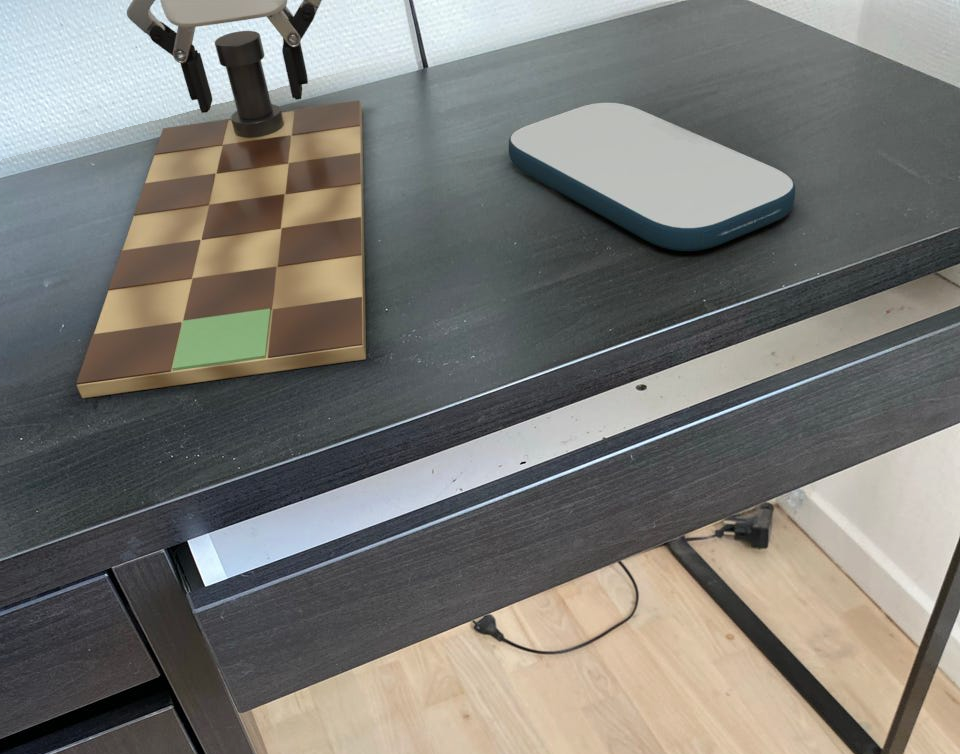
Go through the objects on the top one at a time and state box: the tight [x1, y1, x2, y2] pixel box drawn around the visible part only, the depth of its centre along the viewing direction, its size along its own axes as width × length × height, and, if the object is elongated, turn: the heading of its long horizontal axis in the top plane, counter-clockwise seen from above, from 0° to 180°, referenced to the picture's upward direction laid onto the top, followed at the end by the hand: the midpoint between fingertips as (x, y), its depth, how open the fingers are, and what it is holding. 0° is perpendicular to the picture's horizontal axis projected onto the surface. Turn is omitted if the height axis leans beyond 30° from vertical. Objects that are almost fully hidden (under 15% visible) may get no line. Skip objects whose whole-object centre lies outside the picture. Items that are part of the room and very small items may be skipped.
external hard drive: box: [508, 101, 796, 252], centre depth 75 cm, size 24×12×2 cm, turn 31°
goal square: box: [172, 309, 271, 371], centre depth 65 cm, size 6×6×1 cm
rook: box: [214, 30, 284, 138], centre depth 87 cm, size 4×4×7 cm
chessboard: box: [75, 99, 367, 399], centre depth 78 cm, size 18×42×1 cm, turn 5°
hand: (252, 99), depth 88 cm, fingers open, 7 cm apart
